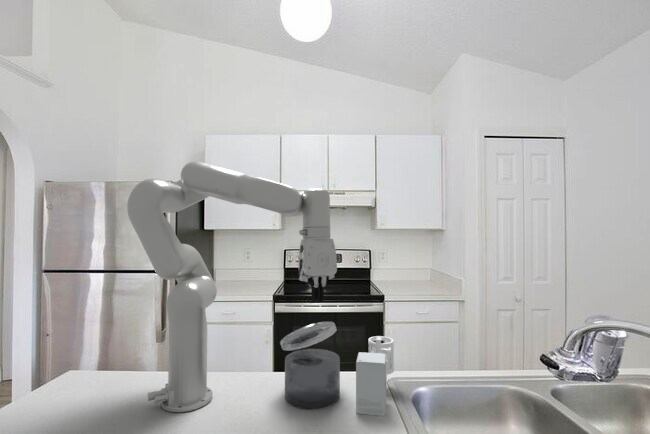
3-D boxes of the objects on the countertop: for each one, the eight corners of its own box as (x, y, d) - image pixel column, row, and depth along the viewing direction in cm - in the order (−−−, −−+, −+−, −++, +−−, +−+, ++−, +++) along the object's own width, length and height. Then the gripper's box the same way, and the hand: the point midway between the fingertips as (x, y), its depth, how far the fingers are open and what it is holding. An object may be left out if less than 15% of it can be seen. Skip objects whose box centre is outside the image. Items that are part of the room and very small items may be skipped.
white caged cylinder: (365, 392, 94) (365, 337, 95) (372, 382, 100) (371, 331, 101) (391, 397, 91) (390, 340, 92) (396, 386, 98) (395, 333, 98)
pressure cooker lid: (295, 332, 85) (292, 319, 87) (273, 354, 95) (270, 342, 97) (346, 323, 94) (342, 311, 95) (320, 344, 104) (317, 333, 106)
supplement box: (386, 417, 82) (385, 363, 82) (355, 413, 83) (355, 361, 84) (386, 402, 89) (386, 353, 89) (358, 399, 90) (358, 351, 91)
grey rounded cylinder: (302, 415, 82) (302, 373, 83) (275, 391, 95) (275, 355, 95) (351, 398, 90) (350, 360, 91) (320, 379, 103) (320, 345, 103)
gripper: (299, 234, 86) (300, 307, 85) (346, 233, 94) (348, 300, 93) (286, 234, 92) (286, 302, 91) (331, 233, 100) (332, 296, 99)
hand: (317, 301), depth 92 cm, fingers closed
